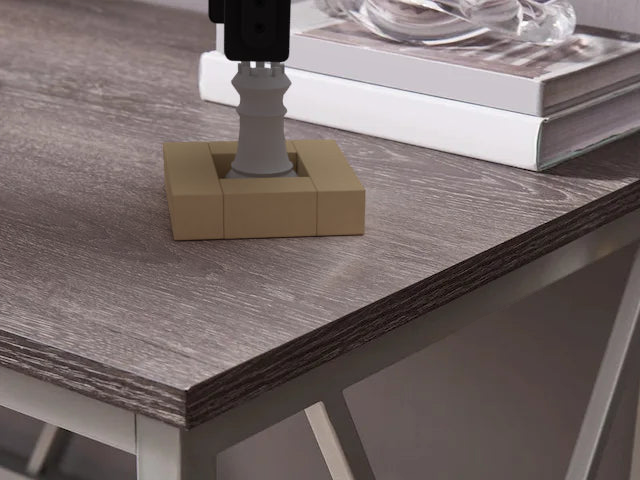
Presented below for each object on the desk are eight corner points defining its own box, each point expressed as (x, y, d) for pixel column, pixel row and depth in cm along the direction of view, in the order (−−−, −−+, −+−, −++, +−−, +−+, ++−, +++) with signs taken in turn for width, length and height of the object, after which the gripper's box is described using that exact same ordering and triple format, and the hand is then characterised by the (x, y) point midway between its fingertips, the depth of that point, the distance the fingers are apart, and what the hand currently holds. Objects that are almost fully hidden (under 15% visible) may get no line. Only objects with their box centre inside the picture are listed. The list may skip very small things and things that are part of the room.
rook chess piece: (318, 210, 73) (320, 67, 69) (253, 225, 70) (251, 76, 66) (270, 191, 76) (269, 52, 72) (206, 204, 73) (202, 61, 69)
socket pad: (174, 241, 67) (172, 194, 66) (164, 183, 76) (162, 141, 75) (364, 234, 69) (365, 189, 68) (333, 179, 78) (334, 138, 77)
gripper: (162, -327, 68) (166, 9, 75) (182, -347, 53) (184, 76, 60) (304, -314, 69) (294, 13, 77) (363, -330, 54) (343, 79, 62)
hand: (246, 40), depth 69 cm, fingers open, 9 cm apart
